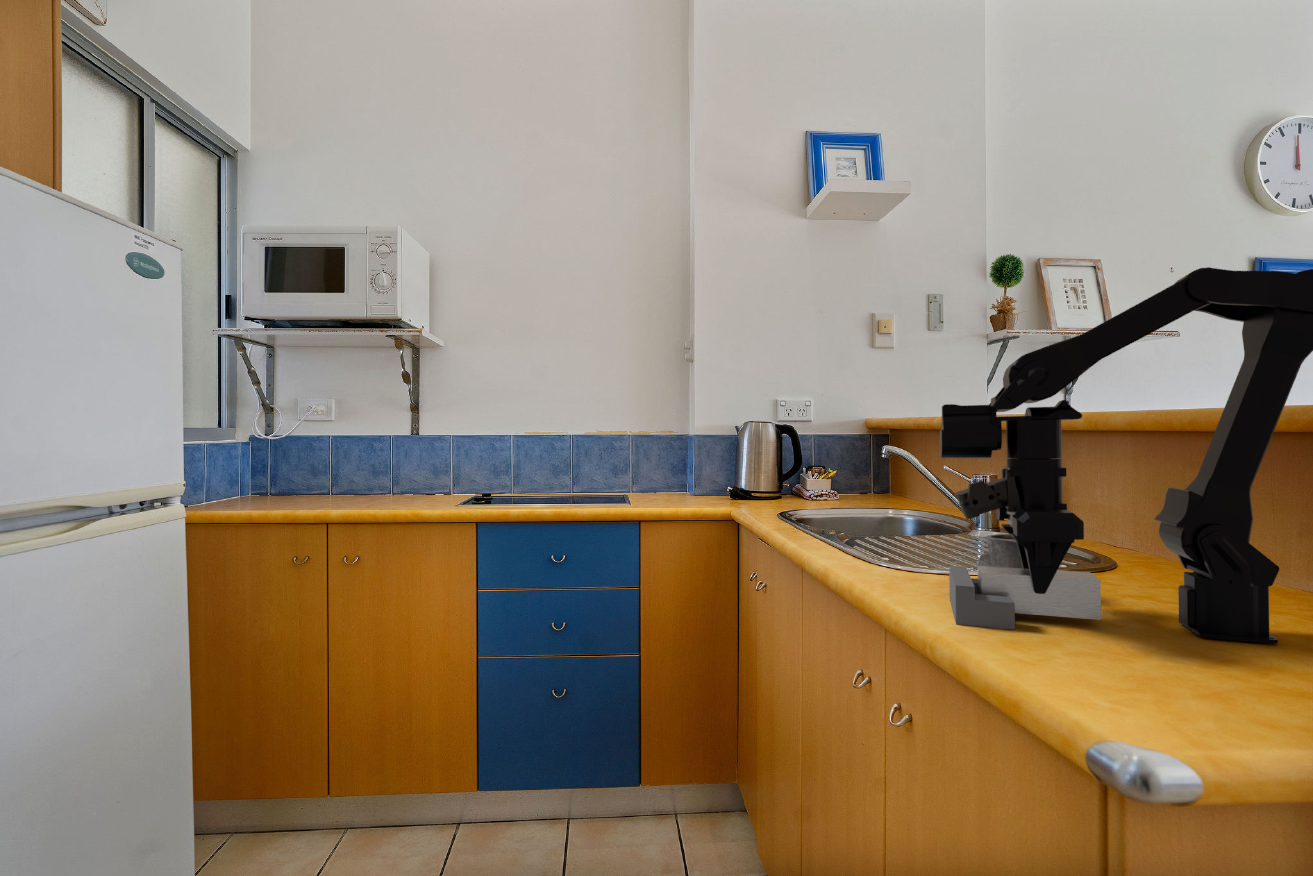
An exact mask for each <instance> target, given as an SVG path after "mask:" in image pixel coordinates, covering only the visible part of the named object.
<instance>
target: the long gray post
mask: <svg viewBox="0 0 1313 876" xmlns="http://www.w3.org/2000/svg"><path fill="white" fill-rule="evenodd" d="M977 579H978V594H979V595H992V596H1006V597H1011V598H1012V600H1013V601H1014V603H1015V614H1022V615H1034V616H1035V615H1036V616H1037V615H1038V616H1047V617H1049V616H1050V617H1059V618H1060V617H1061V618H1075V619H1085V620H1086V619H1087V620H1088V619H1089V620H1098V621H1099V620H1100V621H1101V620H1102V601H1101V597H1102V594H1101V593H1102V592H1101V591H1102V590H1101V578H1100V579H1099V578H1098V576H1096V575H1094V574H1093V573H1092V572H1090V571H1073V570H1071V571H1070V570H1059V569H1058V570H1057V572H1056V574H1055V576H1054V578H1053V580H1052V581H1051V583H1050V585H1049V587H1048V589H1047V591H1046V593H1045V594H1037V593H1035V592H1034V590H1033V585H1032V581H1031V576H1030V571H1029V569H1023V568H1005V567H987V566H978V565H977Z"/></svg>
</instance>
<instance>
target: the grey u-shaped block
mask: <svg viewBox="0 0 1313 876" xmlns="http://www.w3.org/2000/svg"><path fill="white" fill-rule="evenodd" d="M948 568H949V571H948V572H949V575H948V576H949V602H950V607H951V611H952V615H953V619H954V622H955V625H959V626H970V627H983V628H991V629H1003V630H1015V629H1016V617H1015V616H1016V613H1015V603H1014V601H1013V600H1012V598H1011V597H1006V596H992V595H979V594H978V578H972V577H971V575H970V573H969V570H968V568H967V566H959V565H958V566H957V565H949V567H948Z"/></svg>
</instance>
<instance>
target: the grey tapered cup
mask: <svg viewBox="0 0 1313 876" xmlns="http://www.w3.org/2000/svg"><path fill="white" fill-rule="evenodd" d="M985 539H986V540H985V541H986V543H987V544H986V545H987V548H988V551H987V552H984V553H983V554H982V555H980V556H979V558H978V561H977V567H978V566H987V567H1005V568H1023V567H1022V563H1021V559H1020V555H1019V551H1018V548H1017V544H1016V540H1015V539H1014V537H1012V536H1011V535H1010V534H1009V533H998V534H997V533H996V534H990V535H986V536H985Z"/></svg>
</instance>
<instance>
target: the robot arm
mask: <svg viewBox="0 0 1313 876" xmlns="http://www.w3.org/2000/svg"><path fill="white" fill-rule="evenodd" d="M1193 312H1200V313H1204V314H1207V315H1212V316H1215V317H1218V318H1221V319H1224V320H1227V321H1228V320H1229V321H1235V322H1241V323H1243V324H1242V330H1241V336H1242V344H1243V345H1242V346H1243V352H1244V354H1243V355H1244V356H1243V360H1242V363H1241V364H1240V368H1239V371H1238V373H1237V375H1236V378H1235V381H1234V383H1233V386H1232V388H1231V391H1230V393H1229V395H1228V398H1227V400H1226V403H1225V406H1224V408H1223V411H1222V413H1221V415H1220V417H1219V421H1218V423H1217V425H1216V428H1215V431H1214V433H1213V436H1212V437H1211V441H1210V443H1209V446H1208V449H1207V451H1206V453H1205V456H1204V458H1203V461H1202V463H1201V466H1200V468H1199V471H1198V473H1197V475H1196V477H1195V478H1194V480H1193V481H1191V483H1190V484H1189V485H1188V486H1187V487H1186V488H1184V489H1181V488H1175V487H1169V488H1168V489H1167V491H1166V494H1165V498H1164V505H1163V507H1162V508H1161V511H1160V512H1159V514H1157V515H1156V516H1154V520H1155V521H1157V522H1160V523H1159V528H1158V529H1159V530H1158V535H1159V538H1160V539H1161V541H1162V542H1163V544H1164V546H1165V547H1166V548H1168V550H1169V551H1171V552H1172V553H1173V554H1176V555H1177V557H1178V560H1179V561H1180V564H1181V565H1182V567H1183V569H1186V570H1189V571H1184V572H1183V584H1180V585H1178V588H1177V590H1178V591H1177V592H1178V619H1177V620H1178V623H1179V624H1181V626H1184V627H1185V628H1187V629H1188V630H1189V631H1191V633H1194V634H1195V635H1196V636H1198V637H1201V638H1204V639H1205V638H1207V639H1215V640H1216V639H1217V640H1227V641H1239V642H1248V643H1249V642H1252V643H1263V644H1275V645H1278V644H1279V639H1278V638H1277V637H1275V636H1273V635H1271V634H1270V593H1269V592H1270V588H1269V587H1272V586H1274V582H1275V580H1276V578H1277V576H1278V574H1279V571H1280V566H1279V565H1277V564H1276V563H1275V562H1273V560H1271V559H1270V558H1269V557H1267V556H1266V555H1265V554H1263V553H1262V552H1261V551H1260V550H1258V549H1257V548H1256V547H1254V546H1253V545H1252V544H1251V543H1250V539H1251V534H1252V528H1253V527H1252V526H1253V521H1254V514H1253V507H1252V498H1251V497H1252V496H1251V490H1252V487H1253V484H1254V481H1255V478H1256V476H1257V474H1258V471H1259V469H1260V467H1261V464H1262V461H1263V459H1264V457H1265V453H1266V452H1267V449H1268V447H1269V444H1270V442H1271V439H1272V437H1273V434H1274V433H1275V430H1276V427H1277V425H1278V422H1279V420H1280V417H1281V415H1282V413H1283V410H1284V408H1285V406H1286V402H1287V401H1288V398H1289V396H1290V393H1291V392H1292V391H1291V390H1292V388H1293V385H1294V383H1295V380H1296V378H1297V376H1298V374H1299V371H1300V368H1301V367H1302V364H1303V363H1304V362H1305V360H1306V359H1307V357H1309V355H1311V353H1313V268H1310V269H1306V270H1301V271H1297V272H1288V271H1286V272H1285V271H1279V270H1277V271H1276V270H1230V269H1223V268H1214V267H1209V266H1208V267H1200V268H1198V269H1195V270H1193V271H1190V272H1189V273H1188V274H1186V275H1185V276H1183V277H1181V278H1180V279H1178V280H1176V281H1175V282H1174V284H1171V285H1170V286H1168V287H1166V288H1164V289H1163V290H1161V291H1158V292H1157V293H1155V294H1153V295H1151V296H1150V297H1148V298H1146V299H1144V300H1142V301H1141V302H1139V303H1137V304H1135V305H1133V306H1131V307H1129V308H1128V309H1126V310H1124V311H1122V312H1120V313H1119V314H1116V315H1115V316H1113V317H1111V318H1110V319H1108V320H1105V321H1103V322H1102V323H1100V324H1098V325H1097V326H1095V327H1093V328H1091V329H1089V330H1087V331H1086V332H1084V333H1081V334H1079V335H1076V336H1074V337H1070V338H1068V339H1064V340H1062V341H1059V342H1056V343H1055V342H1054V343H1052V344H1049V345H1047V346H1045V347H1041V348H1039V349H1036V350H1033V351H1030V352H1027V353H1025V354H1023V355H1021V356H1020V357H1018V358H1017V359H1016V360H1014V361H1013V362H1012V363H1011V364H1009V366H1008V367H1007V368H1006V369H1005V371H1004V374H1003V377H1002V386H1003V387H1001V389H1000V390H999V392H998V393H997V394H996V396H993V397H992V398H990V403H989V404H977V405H976V404H974V405H972V404H971V405H961V404H953V403H951V404H943V405H942V406H941V425H940V426H941V427H940V428H941V430H939V453H940V458H941V459H991V458H992V456H993V455H992V454H993V451H994V452H995V451H1002V446H1003V445H1002V444H1003V428H1002V427H1003V426H1002V422H1005V427H1006V428H1005V430H1006V431H1005V433H1006V435H1005V438H1006V445H1005V447H1006V465H1004V467H1003V468H1001V478H998V479H994V480H991V481H988V482H985V481H984V480H978V481H976V482H974V483H971V482H970V483H968V487H967V488H964V489H963V490H960V491H956V492H955V493H954V494H955V497H956V499H957V501H958V505H959V506H960V508H961V511H962V513H963V516H964V517H965V519H967V520H969V519H970V520H971V519H974V518H978V517H980V515H982V514H985V513H989V512H992V511H996V512H995V513H996V520H998V521H1002V522H1004V521H1005V520H1007V523H1003V524H1000V526H1001V528H1003V530H1005V531H1006V532H1007V534H1010V535H1011V536H1012V537H1014V539H1015V540H1016V544H1017V548H1018V551H1019V555H1020V559H1021V563H1022V567H1023V569H1029V571H1030V576H1031V581H1032V585H1033V590H1034V592H1035V593H1037V594H1045V593H1046V591H1047V589H1048V587H1049V585H1050V583H1051V581H1052V580H1053V578H1054V576H1055V574H1056V572H1057V570H1058V571H1059V567H1060V566H1061V564H1062V562H1063V560H1064V558H1066V555H1067V553H1068V551H1069V550H1070V548H1071V546H1072V544H1074V543H1075V540H1078V541H1079V540H1085V539H1084V538H1085V532H1084V531H1085V523H1084V521H1083V519H1081V518H1080V517H1079V516H1078V515H1076V514H1075V513H1074V512H1072V511H1070V510H1068V503H1067V502H1064V501H1063V499H1064V498H1063V493H1064V492H1063V478H1064V477H1065V478H1066V477H1067V467H1063V441H1062V440H1063V437H1062V436H1063V435H1062V429H1063V428H1062V421H1077V420H1081V419H1082V418H1083V414H1082V413H1081V412H1080V411H1078V410H1076V409H1075V408H1074V407H1072V406H1071V405H1070V404H1069V402H1068V401H1067V400H1066V399H1062V400H1059V401H1058V402H1057V403H1056V404H1054V406H1035V407H1034V406H1033V407H1032V406H1031V407H1027V408H1026V409H1025V412H1024V415H1016V416H1015V415H1013V416H997V413H1005V412H1008V411H1011V410H1014V409H1016V408H1018V407H1019V406H1021V405H1023V404H1035V403H1038V402H1041V401H1044V400H1046V399H1047V400H1048V399H1049V398H1052V397H1054V396H1055V395H1057V394H1058V393H1059V392H1060V391H1062V390H1063V389H1064V388H1066V387H1068V386H1069V385H1070V384H1071V383H1073V382H1074V381H1075V380H1077V379H1078V378H1079V377H1081V376H1082V375H1083V374H1084V373H1086V372H1087V371H1088V370H1089V369H1091V368H1092V367H1093V366H1094V365H1095V364H1097V363H1098V362H1100V361H1102V360H1103V359H1105V358H1106V357H1108V356H1111V355H1112V354H1114V353H1116V352H1119V351H1120V350H1122V349H1125V347H1127V346H1129V345H1131V344H1133V343H1135V342H1137V341H1138V340H1139V341H1140V339H1143V338H1144V337H1147V336H1149V335H1151V334H1153V333H1154V332H1156V331H1158V330H1159V329H1161V328H1164V327H1165V326H1167V325H1169V324H1171V323H1173V322H1175V321H1176V320H1179V319H1181V318H1182V317H1185V316H1187V315H1188V314H1190V313H1193Z"/></svg>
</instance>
